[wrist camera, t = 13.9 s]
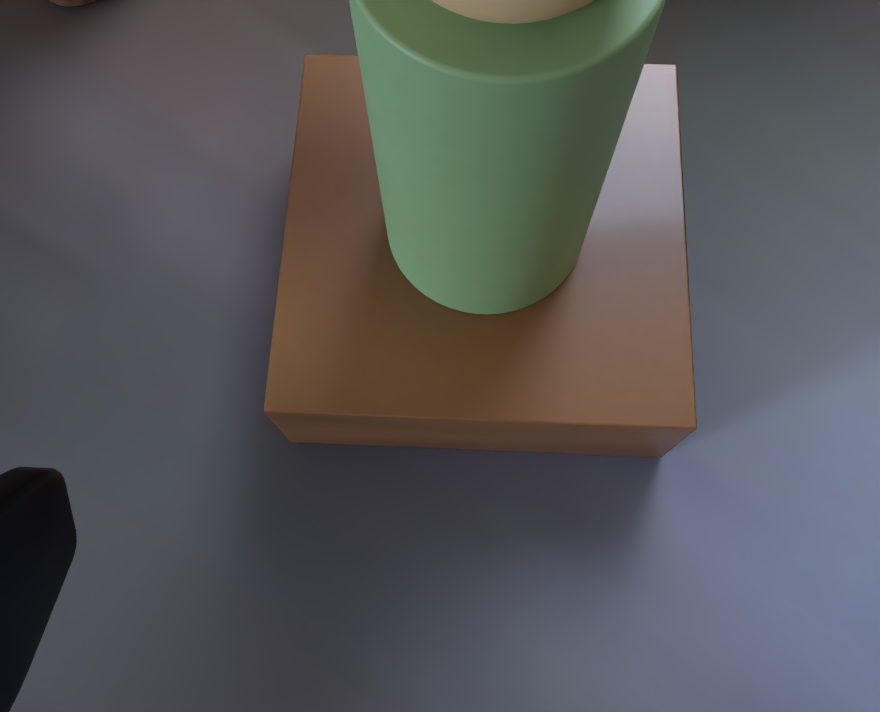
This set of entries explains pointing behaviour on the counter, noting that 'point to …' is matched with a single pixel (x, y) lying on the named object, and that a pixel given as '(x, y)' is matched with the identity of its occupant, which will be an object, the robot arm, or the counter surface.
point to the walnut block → (481, 335)
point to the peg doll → (495, 134)
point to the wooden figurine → (71, 2)
